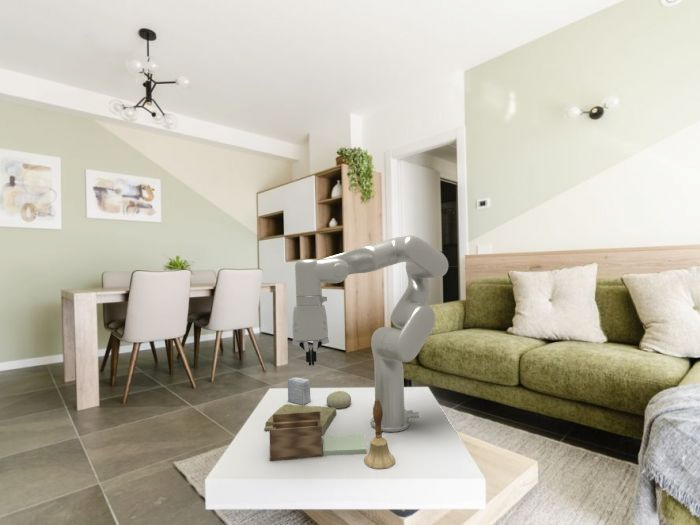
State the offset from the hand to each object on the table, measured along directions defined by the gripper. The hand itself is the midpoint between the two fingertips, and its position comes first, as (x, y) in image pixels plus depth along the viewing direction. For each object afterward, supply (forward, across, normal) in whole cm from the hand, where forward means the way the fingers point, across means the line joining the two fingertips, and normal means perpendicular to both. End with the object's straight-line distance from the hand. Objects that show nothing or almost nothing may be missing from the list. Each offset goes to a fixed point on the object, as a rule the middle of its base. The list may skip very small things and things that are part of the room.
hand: (311, 364), depth 107 cm
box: (+23, +5, +2) cm, 24 cm away
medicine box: (+24, +4, -36) cm, 44 cm away
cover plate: (+24, -8, +2) cm, 26 cm away
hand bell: (+24, -17, +12) cm, 32 cm away
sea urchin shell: (+24, -11, -30) cm, 40 cm away
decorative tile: (+24, +4, -16) cm, 30 cm away
